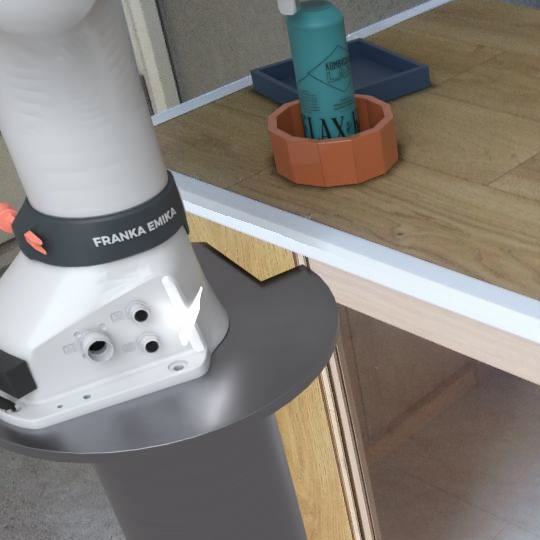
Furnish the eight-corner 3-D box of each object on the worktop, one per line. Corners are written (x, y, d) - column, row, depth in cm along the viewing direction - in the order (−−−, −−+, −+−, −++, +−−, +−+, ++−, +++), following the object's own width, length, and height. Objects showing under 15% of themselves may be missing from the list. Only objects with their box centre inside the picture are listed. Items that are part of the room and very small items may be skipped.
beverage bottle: (298, 166, 114) (261, -25, 100) (328, 144, 119) (296, -43, 105) (346, 175, 112) (316, -19, 98) (375, 152, 117) (350, -37, 103)
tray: (319, 124, 123) (315, 103, 121) (254, 90, 131) (249, 70, 129) (430, 86, 131) (428, 66, 129) (362, 57, 140) (360, 37, 138)
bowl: (320, 198, 109) (312, 153, 105) (254, 159, 116) (244, 116, 112) (421, 159, 115) (416, 116, 112) (352, 125, 123) (346, 83, 119)
